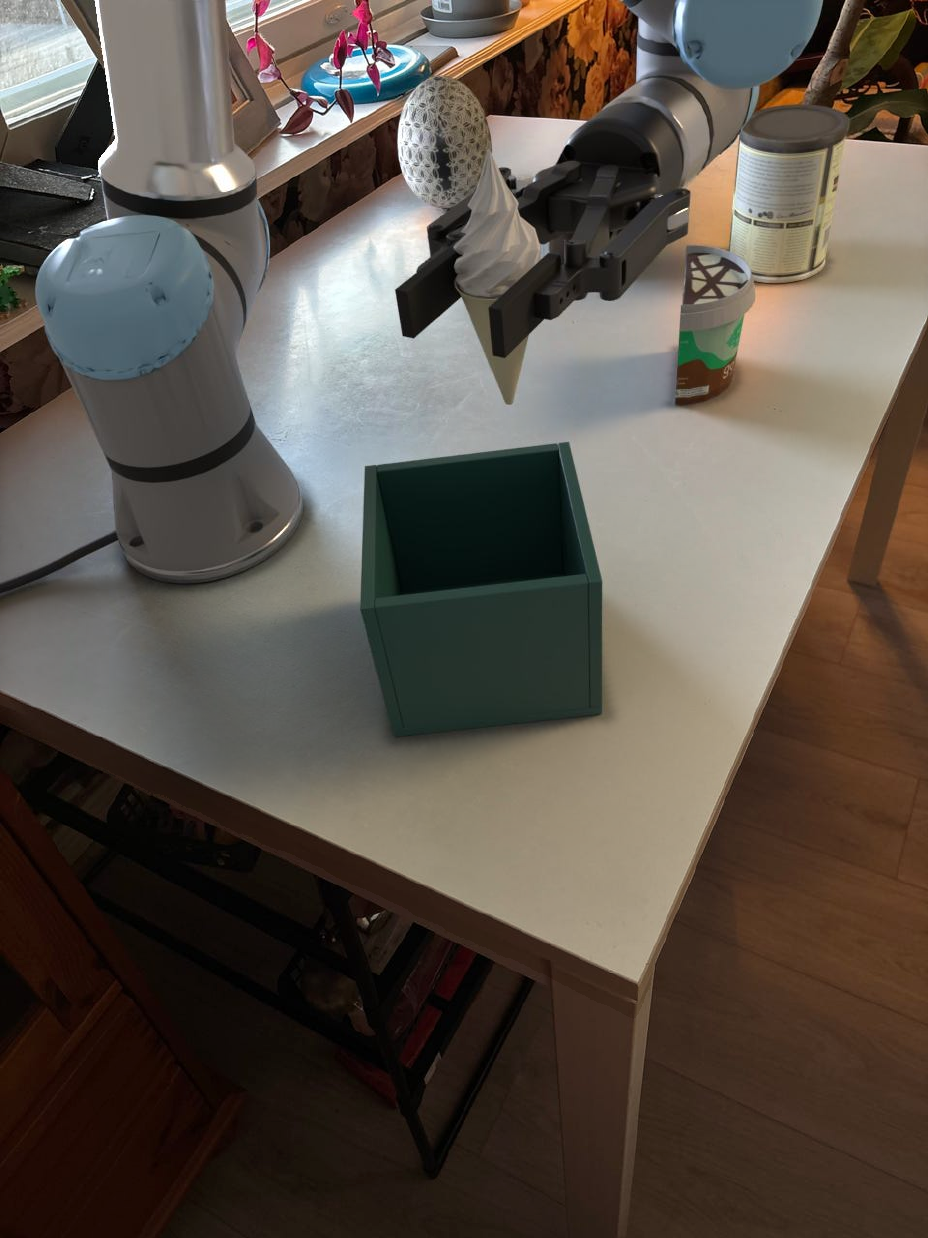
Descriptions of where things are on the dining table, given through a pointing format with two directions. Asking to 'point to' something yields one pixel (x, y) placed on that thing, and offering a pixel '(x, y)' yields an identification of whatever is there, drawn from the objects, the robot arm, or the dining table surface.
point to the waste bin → (481, 590)
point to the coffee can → (786, 190)
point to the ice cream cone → (494, 265)
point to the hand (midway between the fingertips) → (450, 323)
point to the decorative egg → (443, 141)
